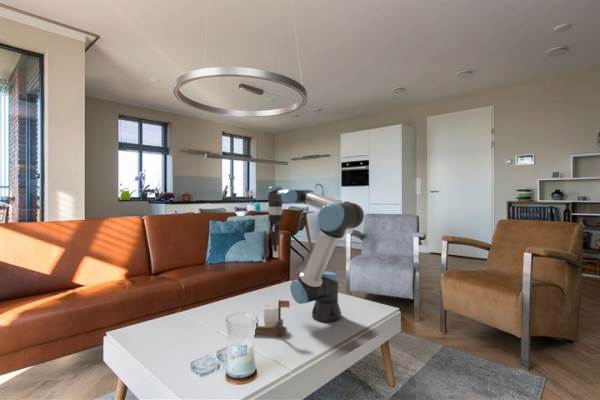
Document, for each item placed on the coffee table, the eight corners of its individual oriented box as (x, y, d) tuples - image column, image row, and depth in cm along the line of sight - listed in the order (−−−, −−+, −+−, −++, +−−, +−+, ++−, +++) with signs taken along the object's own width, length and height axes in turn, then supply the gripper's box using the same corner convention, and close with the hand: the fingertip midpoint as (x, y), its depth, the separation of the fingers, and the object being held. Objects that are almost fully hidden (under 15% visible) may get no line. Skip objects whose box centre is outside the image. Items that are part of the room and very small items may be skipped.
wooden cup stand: (250, 324, 155) (250, 291, 155) (291, 326, 154) (291, 293, 154) (244, 335, 144) (244, 299, 143) (289, 337, 142) (289, 301, 142)
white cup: (277, 323, 157) (277, 302, 157) (282, 329, 150) (282, 308, 150) (261, 325, 155) (261, 304, 155) (265, 332, 147) (265, 310, 147)
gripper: (270, 214, 185) (271, 255, 185) (266, 214, 172) (266, 259, 172) (283, 213, 184) (284, 255, 184) (280, 214, 171) (280, 259, 171)
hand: (275, 257), depth 178 cm, fingers closed
